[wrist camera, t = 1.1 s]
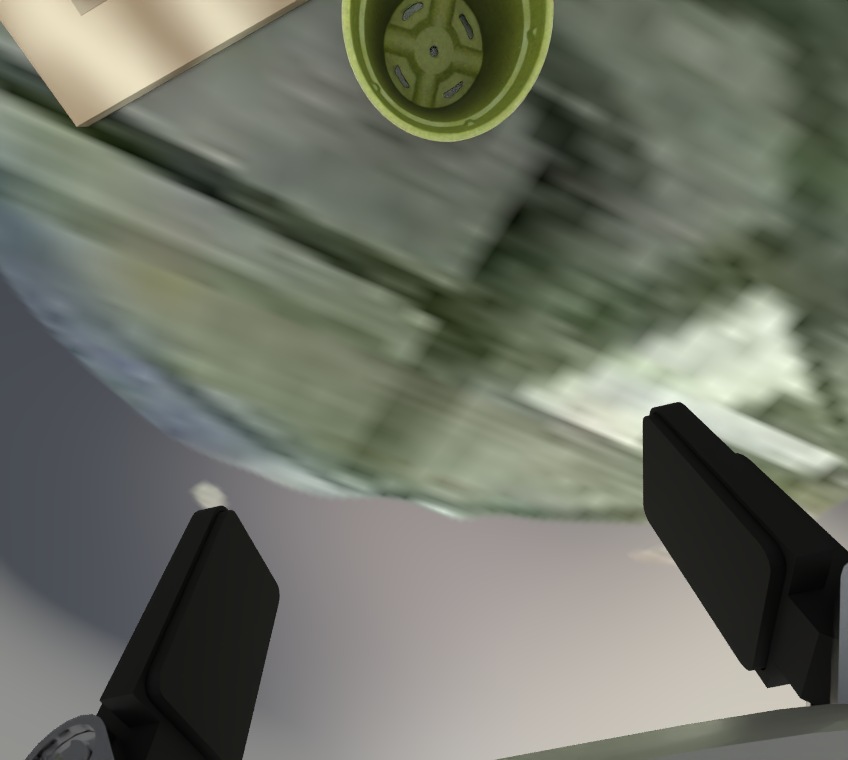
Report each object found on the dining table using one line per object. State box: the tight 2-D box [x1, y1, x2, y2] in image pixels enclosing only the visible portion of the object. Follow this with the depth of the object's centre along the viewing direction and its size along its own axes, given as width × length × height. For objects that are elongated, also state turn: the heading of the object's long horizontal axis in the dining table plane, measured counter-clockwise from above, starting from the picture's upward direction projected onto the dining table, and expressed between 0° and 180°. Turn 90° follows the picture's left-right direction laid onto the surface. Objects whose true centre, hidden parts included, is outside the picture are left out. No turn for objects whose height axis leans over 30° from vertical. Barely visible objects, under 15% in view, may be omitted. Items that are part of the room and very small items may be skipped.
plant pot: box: [342, 0, 554, 142], centre depth 25 cm, size 9×9×9 cm
